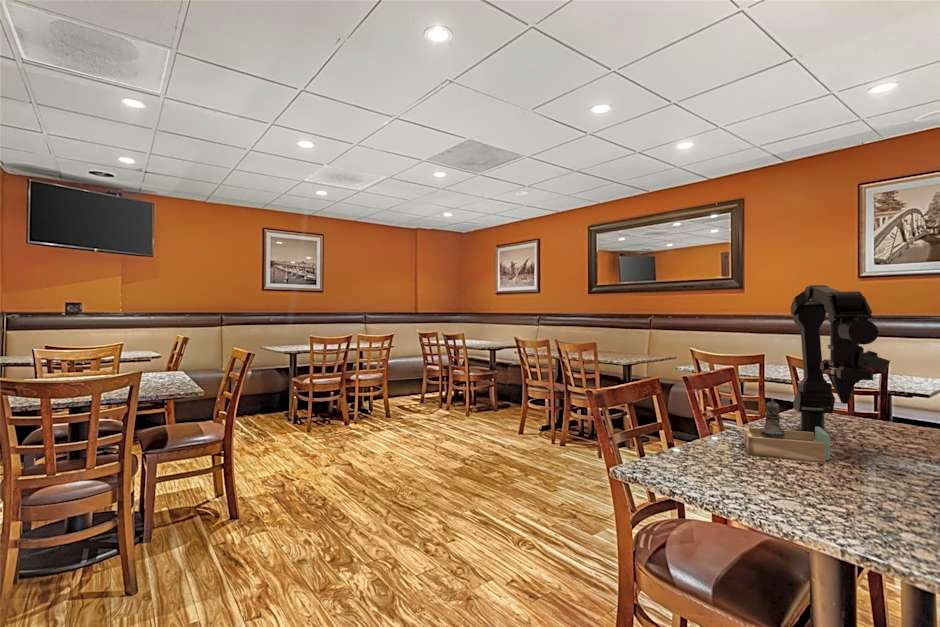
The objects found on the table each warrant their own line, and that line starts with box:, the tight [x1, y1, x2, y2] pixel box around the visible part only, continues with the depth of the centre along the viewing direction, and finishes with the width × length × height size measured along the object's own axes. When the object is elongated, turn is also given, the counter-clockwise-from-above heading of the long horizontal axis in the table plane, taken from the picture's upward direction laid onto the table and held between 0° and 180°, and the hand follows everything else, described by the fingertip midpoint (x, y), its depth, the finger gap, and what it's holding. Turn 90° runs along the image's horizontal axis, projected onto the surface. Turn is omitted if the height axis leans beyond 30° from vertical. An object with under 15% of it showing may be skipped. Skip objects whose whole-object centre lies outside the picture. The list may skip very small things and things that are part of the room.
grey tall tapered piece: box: [759, 398, 786, 439], centre depth 123 cm, size 6×6×12 cm
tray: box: [760, 427, 831, 461], centre depth 122 cm, size 9×16×6 cm, turn 66°
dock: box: [742, 426, 827, 463], centre depth 123 cm, size 11×16×4 cm
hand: (844, 403), depth 120 cm, fingers closed
